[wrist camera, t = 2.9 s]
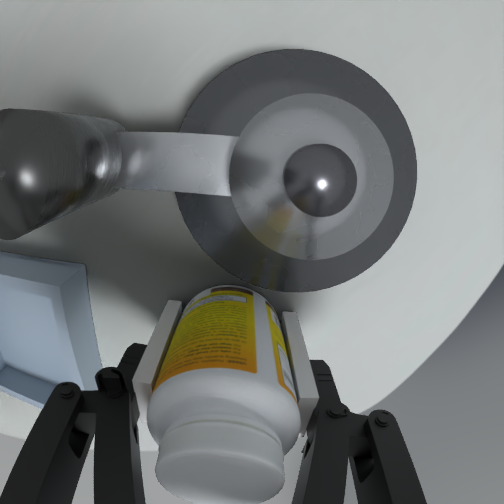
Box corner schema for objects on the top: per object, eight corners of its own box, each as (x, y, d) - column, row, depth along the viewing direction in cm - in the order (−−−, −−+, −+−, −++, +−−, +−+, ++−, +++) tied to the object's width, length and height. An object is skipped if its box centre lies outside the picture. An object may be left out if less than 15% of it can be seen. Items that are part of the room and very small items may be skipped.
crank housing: (177, 264, 16) (168, 280, 14) (196, 51, 12) (188, 38, 10) (375, 282, 16) (388, 298, 14) (408, 89, 13) (427, 84, 11)
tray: (6, 365, 19) (-10, 385, 16) (-28, 246, 15) (-53, 260, 12) (111, 401, 19) (99, 428, 17) (85, 264, 16) (59, 286, 13)
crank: (381, 118, 11) (475, 106, 5) (359, 250, 13) (428, 322, 7) (71, 95, 10) (-25, 80, 5) (66, 221, 12) (-22, 270, 6)
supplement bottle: (163, 329, 17) (102, 472, 7) (222, 260, 16) (191, 400, 6) (237, 379, 18) (234, 525, 8) (299, 321, 17) (349, 472, 7)
